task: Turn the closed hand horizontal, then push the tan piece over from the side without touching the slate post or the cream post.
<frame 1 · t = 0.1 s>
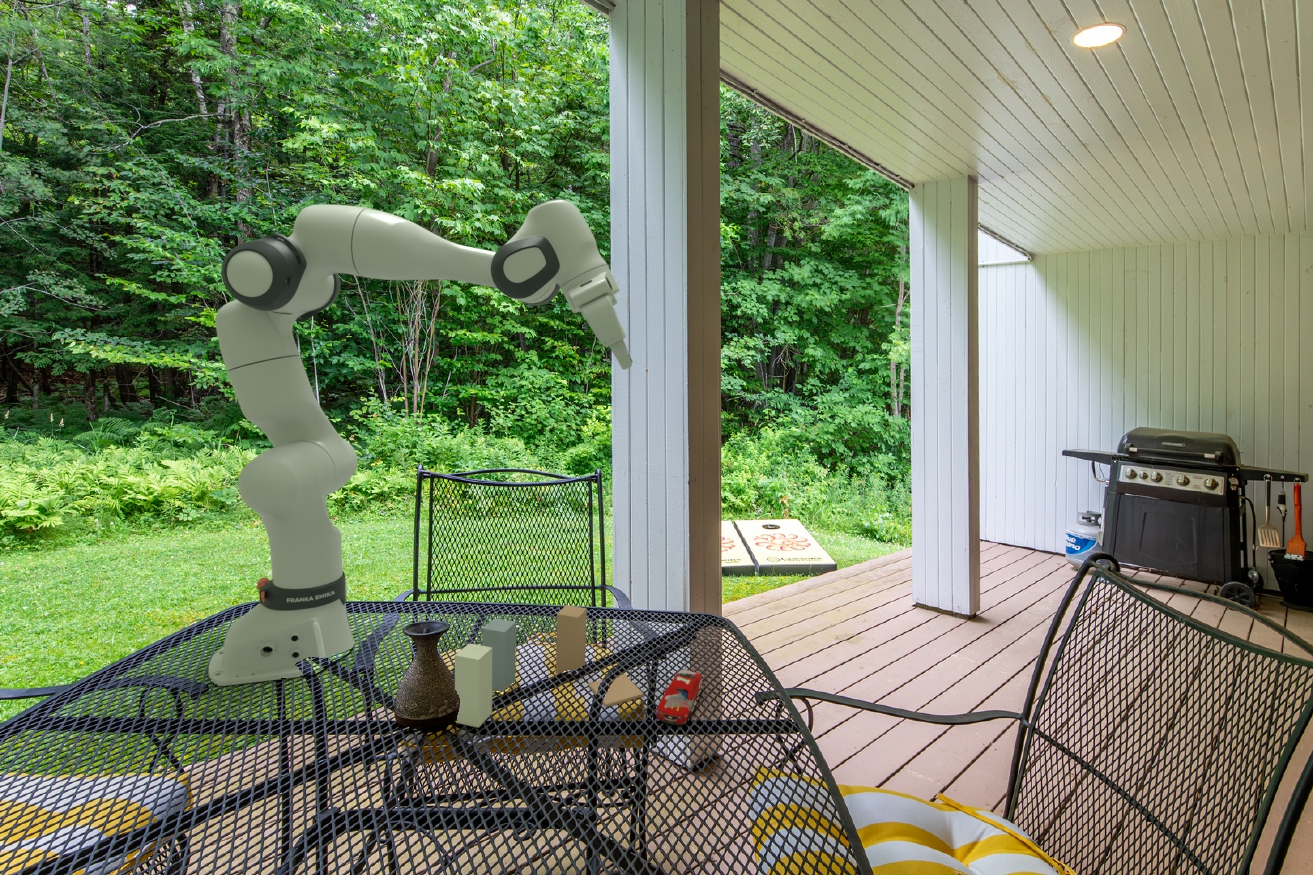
hand: (628, 366, 109), 54 cm above the table, tool tilted 30°, fingers open, 8 cm apart
tan piece: (570, 669, 114), on the table
prompt tile: (615, 691, 107), on the table
race car: (680, 706, 105), on the table
cream post: (473, 717, 98), on the table
slate post: (499, 686, 107), on the table
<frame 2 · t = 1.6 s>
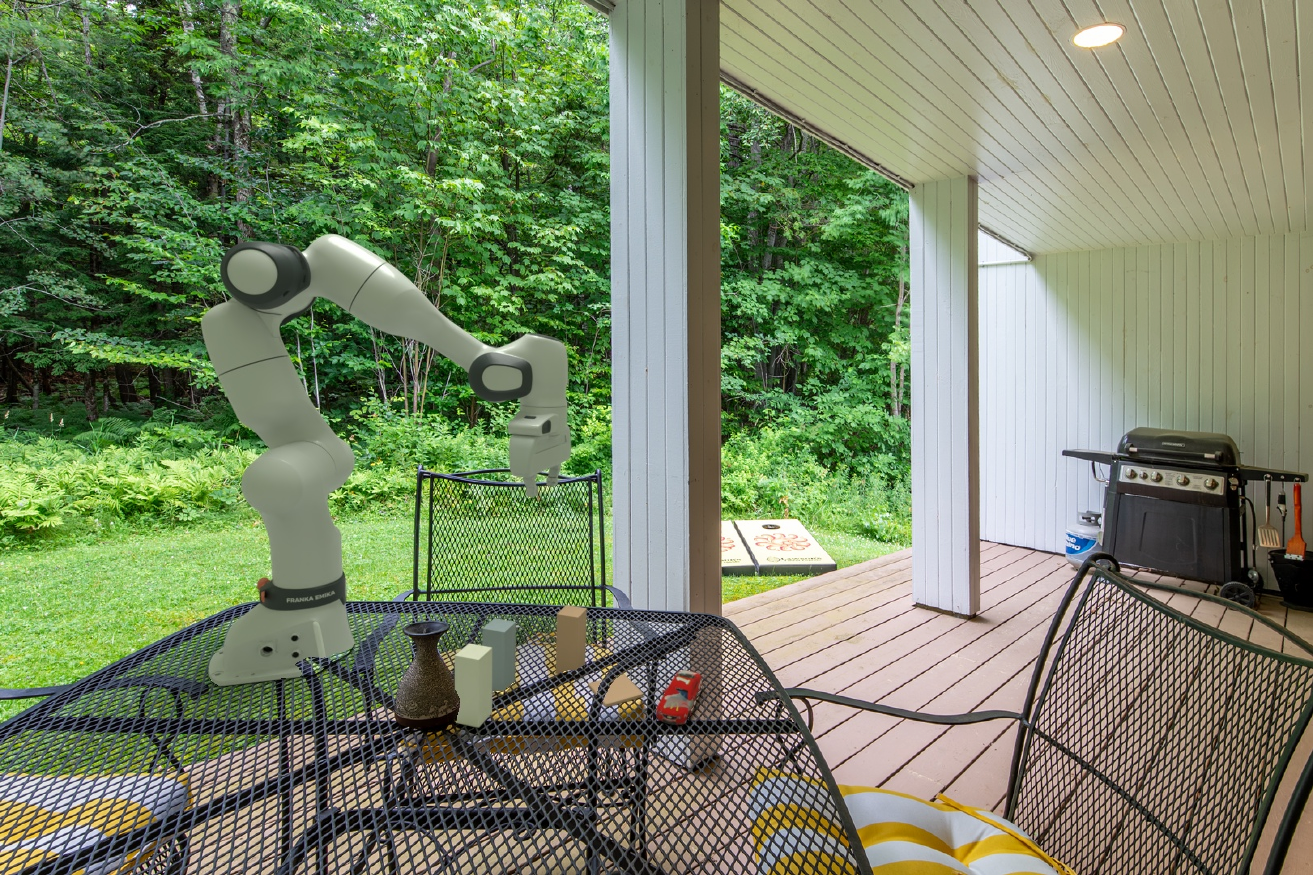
hand: (542, 490, 123), 29 cm above the table, tool pointing down, fingers open, 8 cm apart
nothing on the table moved.
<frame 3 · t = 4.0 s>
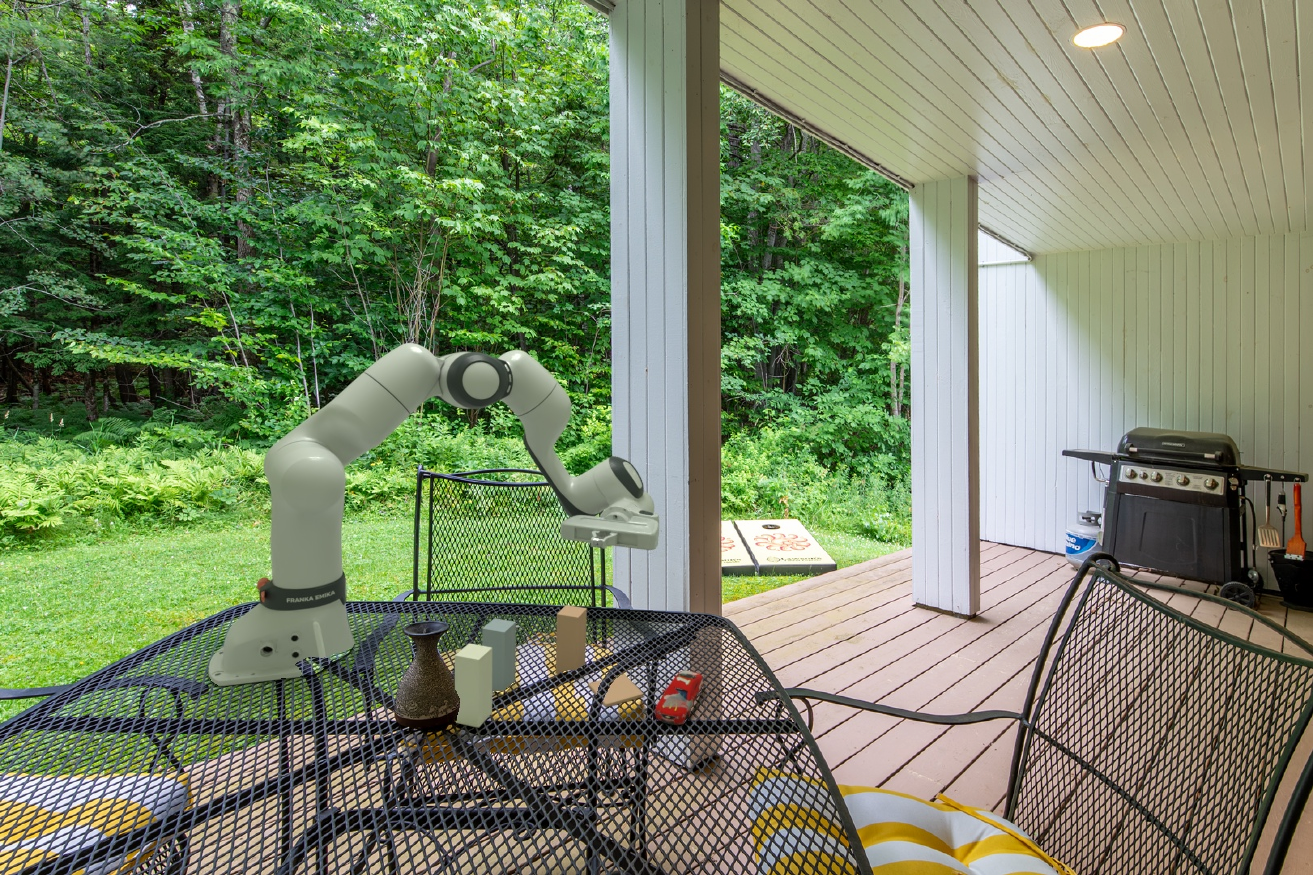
hand: (597, 544, 122), 20 cm above the table, tool horizontal, fingers closed
nothing on the table moved.
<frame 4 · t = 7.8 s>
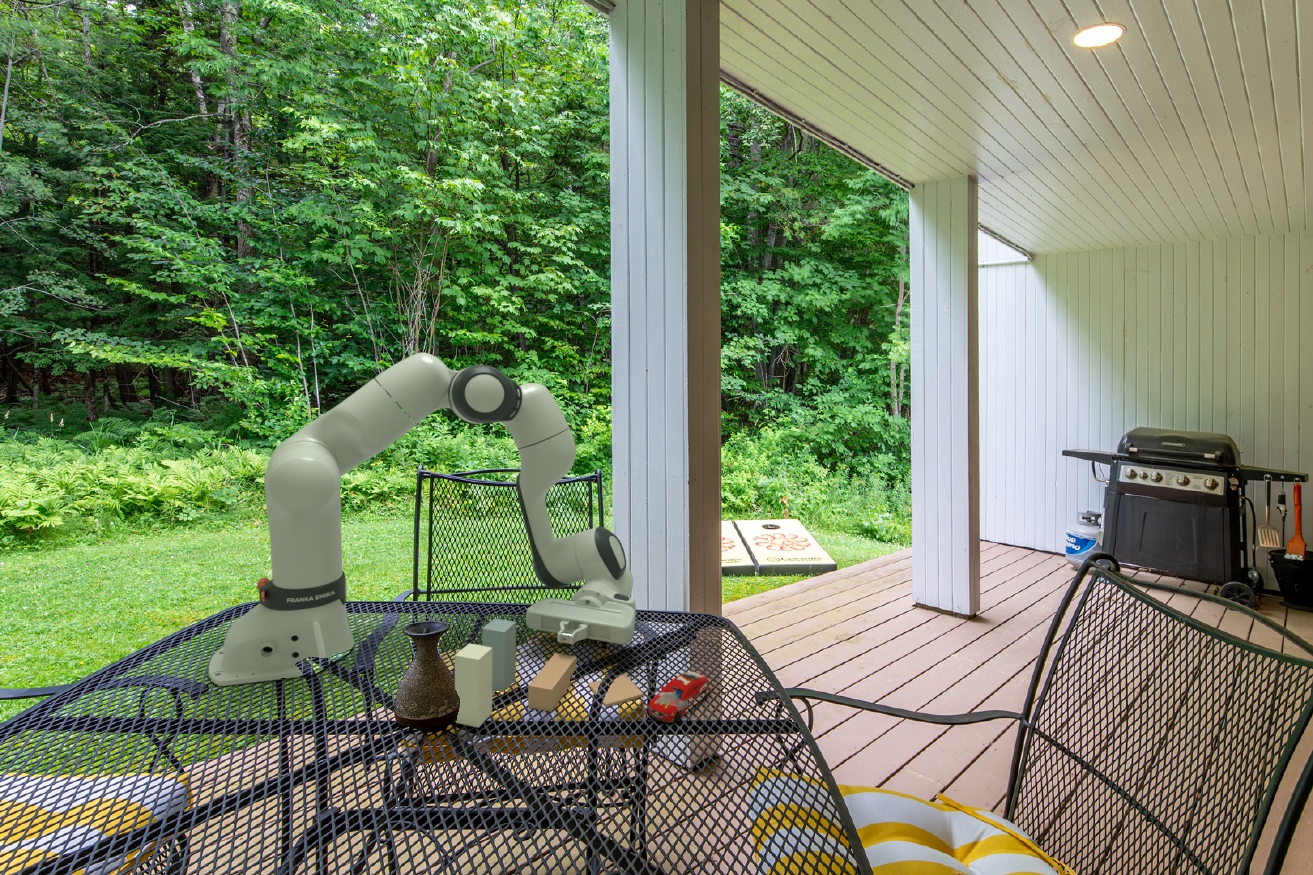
hand: (565, 639, 110), 7 cm above the table, tool horizontal, fingers closed
tan piece: (565, 665, 112), point 2 cm above the table, tilted 90°
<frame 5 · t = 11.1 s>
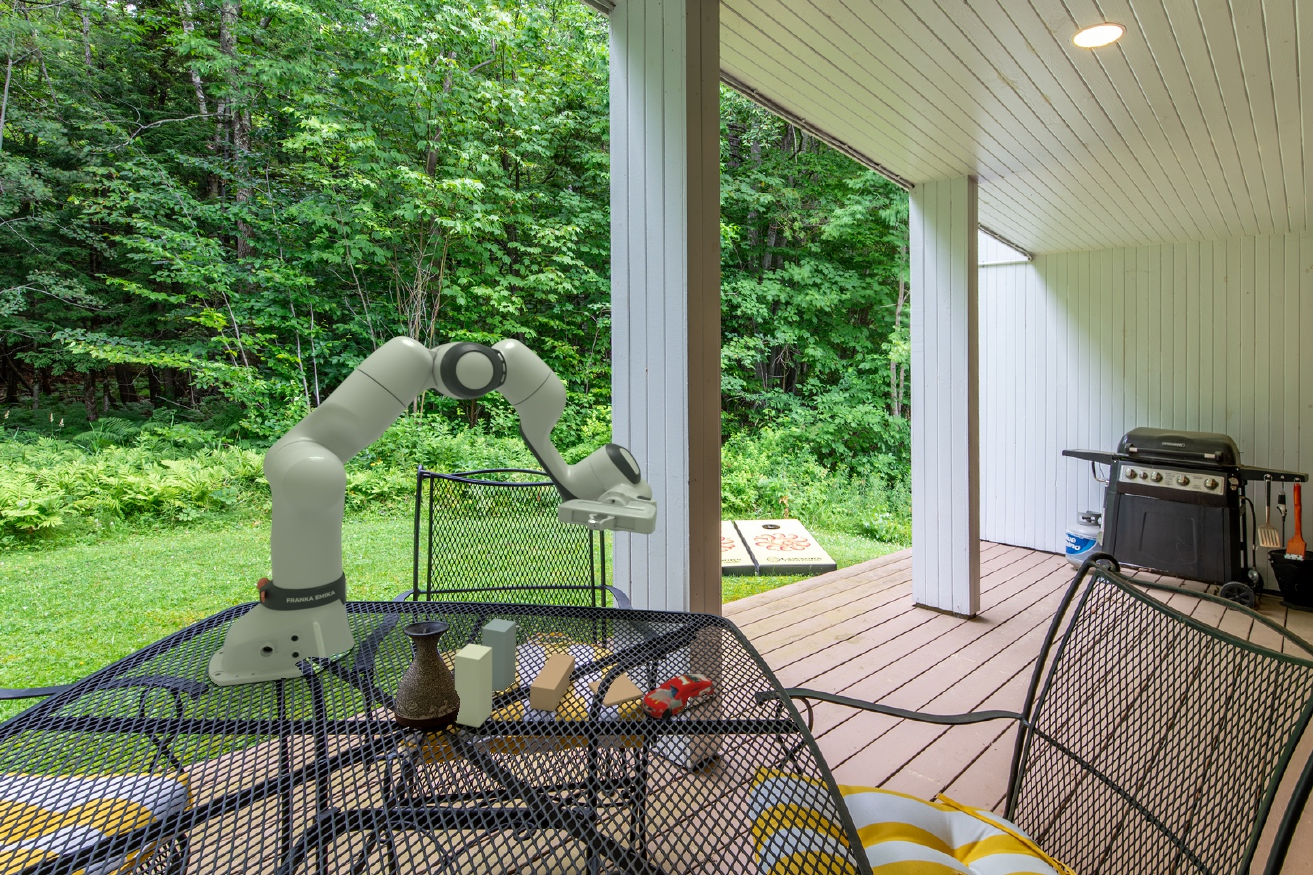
hand: (594, 526, 122), 23 cm above the table, tool horizontal, fingers closed
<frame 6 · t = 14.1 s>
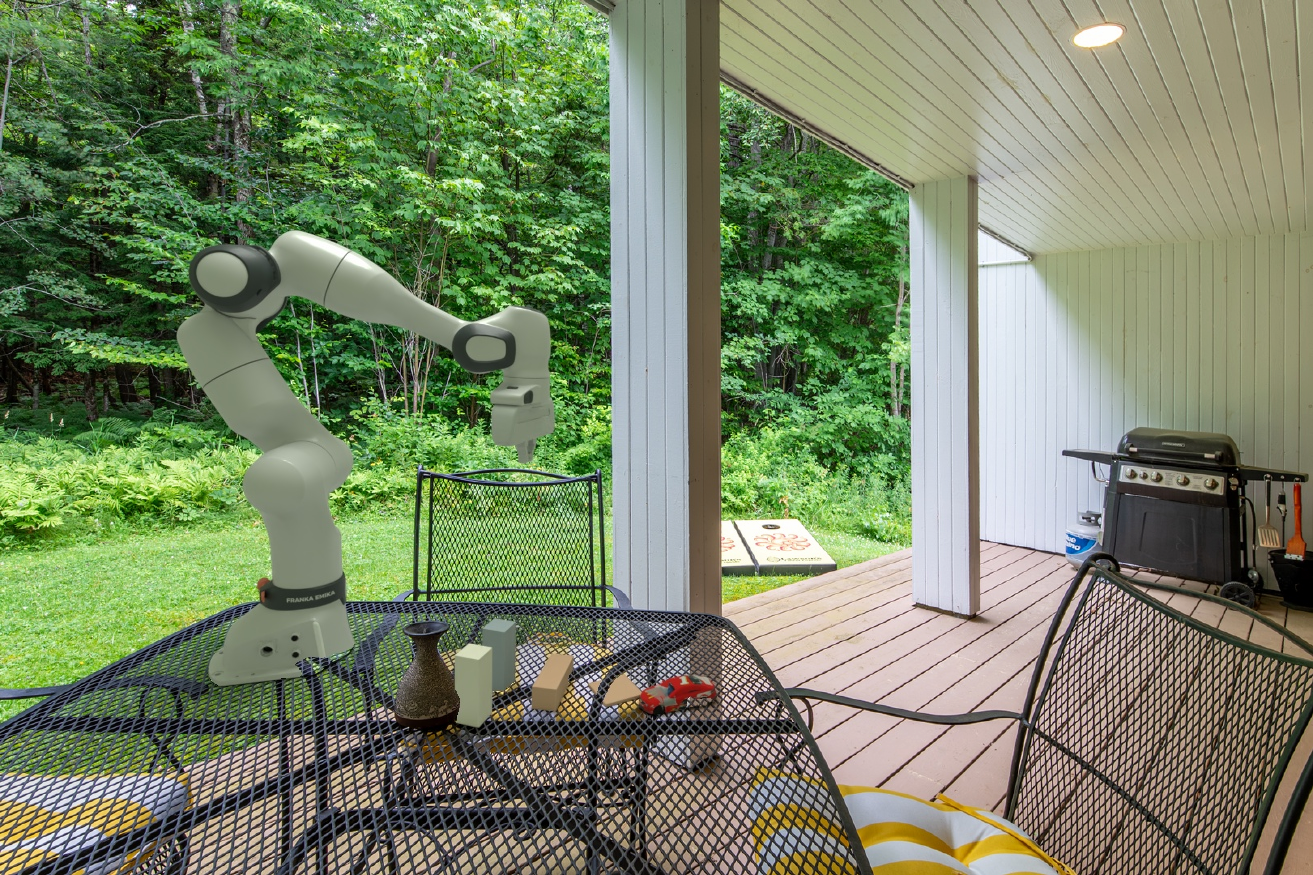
hand: (525, 462, 124), 34 cm above the table, tool pointing down, fingers closed
at the end: tan piece tilted 90°; slate post moved 0.0 cm from its start; cream post moved 0.0 cm from its start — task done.
